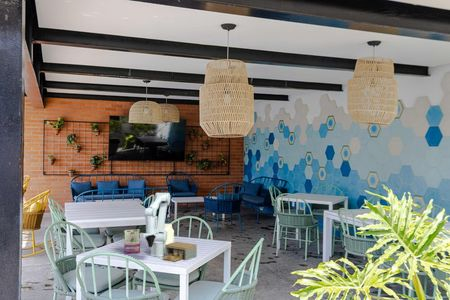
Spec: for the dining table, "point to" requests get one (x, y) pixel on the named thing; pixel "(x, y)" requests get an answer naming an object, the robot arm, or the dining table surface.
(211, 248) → the dining table surface
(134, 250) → the candy bar box
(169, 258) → the tray
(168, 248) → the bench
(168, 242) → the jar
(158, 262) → the dining table surface
